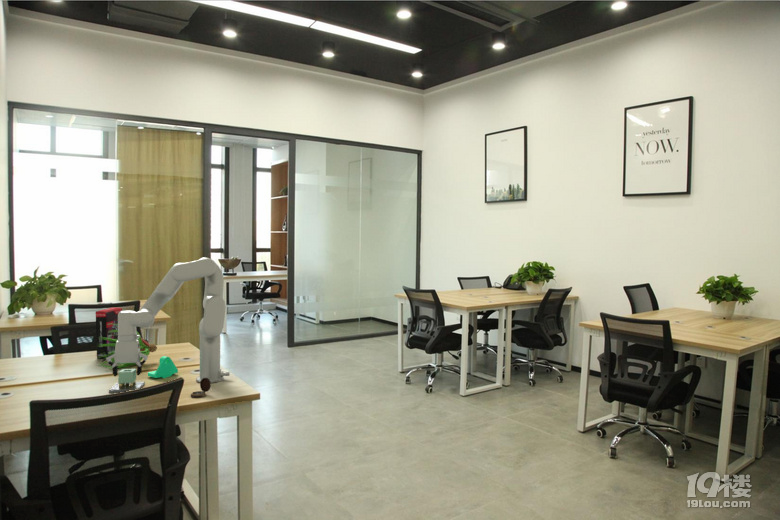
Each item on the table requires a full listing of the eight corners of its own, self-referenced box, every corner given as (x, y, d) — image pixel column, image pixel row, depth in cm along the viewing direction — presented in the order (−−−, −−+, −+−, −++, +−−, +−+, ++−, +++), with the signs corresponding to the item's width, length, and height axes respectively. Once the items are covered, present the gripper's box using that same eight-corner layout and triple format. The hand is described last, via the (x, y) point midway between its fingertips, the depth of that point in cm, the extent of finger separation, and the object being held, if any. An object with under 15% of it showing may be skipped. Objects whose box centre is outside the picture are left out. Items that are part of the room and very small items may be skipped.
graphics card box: (107, 359, 286) (107, 311, 285) (95, 359, 286) (94, 311, 285) (123, 352, 303) (123, 307, 302) (112, 352, 303) (112, 307, 302)
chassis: (144, 383, 239) (144, 369, 238) (138, 391, 227) (138, 375, 227) (116, 385, 236) (116, 370, 236) (108, 392, 224) (108, 377, 224)
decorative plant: (163, 372, 279) (108, 383, 254) (138, 357, 292) (84, 365, 267) (170, 327, 276) (116, 333, 251) (145, 314, 289) (90, 318, 264)
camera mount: (168, 372, 260) (168, 352, 260) (177, 374, 256) (177, 354, 256) (146, 377, 250) (146, 357, 250) (156, 380, 246) (156, 359, 246)
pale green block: (136, 379, 235) (136, 368, 235) (132, 382, 229) (132, 371, 229) (122, 379, 234) (122, 369, 233) (118, 383, 228) (118, 372, 228)
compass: (187, 396, 221) (187, 380, 221) (202, 392, 228) (202, 376, 228) (199, 399, 217) (199, 383, 217) (214, 395, 224) (214, 378, 224)
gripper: (149, 335, 236) (149, 372, 237) (108, 336, 232) (109, 373, 233) (145, 339, 229) (145, 376, 230) (103, 340, 225) (103, 378, 226)
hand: (127, 375), depth 231 cm, fingers open, 9 cm apart
